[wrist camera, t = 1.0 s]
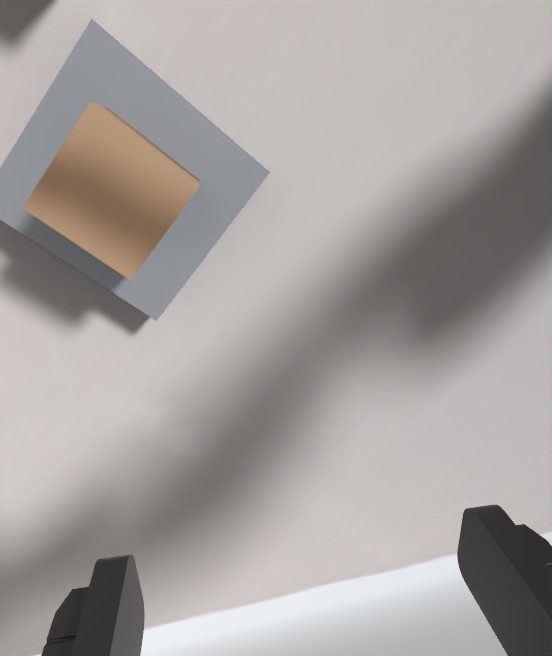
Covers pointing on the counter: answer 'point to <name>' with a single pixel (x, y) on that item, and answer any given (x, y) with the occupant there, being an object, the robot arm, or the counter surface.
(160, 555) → the counter surface
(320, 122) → the counter surface
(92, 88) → the slate trivet
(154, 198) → the walnut block
